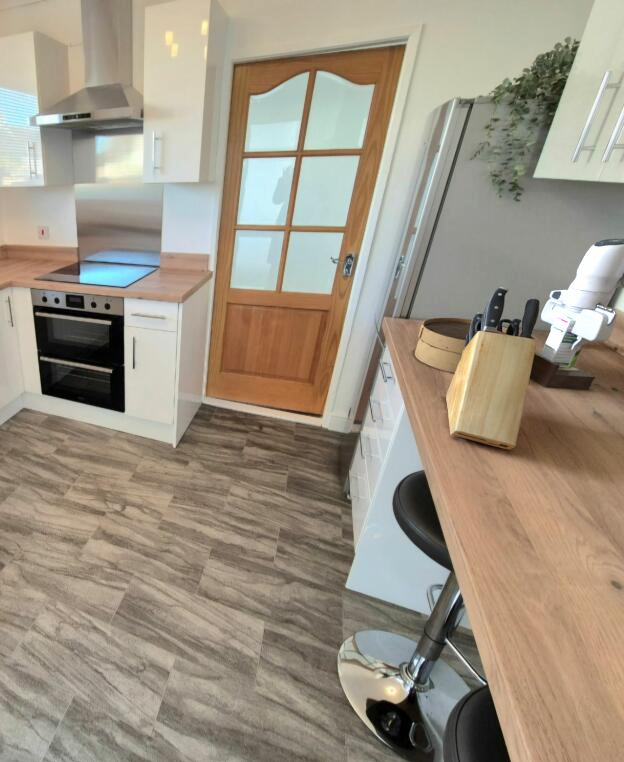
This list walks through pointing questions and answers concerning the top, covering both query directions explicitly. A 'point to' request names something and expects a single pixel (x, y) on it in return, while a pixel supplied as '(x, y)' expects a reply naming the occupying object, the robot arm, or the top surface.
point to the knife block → (493, 375)
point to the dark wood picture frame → (558, 374)
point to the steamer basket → (443, 342)
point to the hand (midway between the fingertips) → (563, 345)
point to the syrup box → (561, 343)
